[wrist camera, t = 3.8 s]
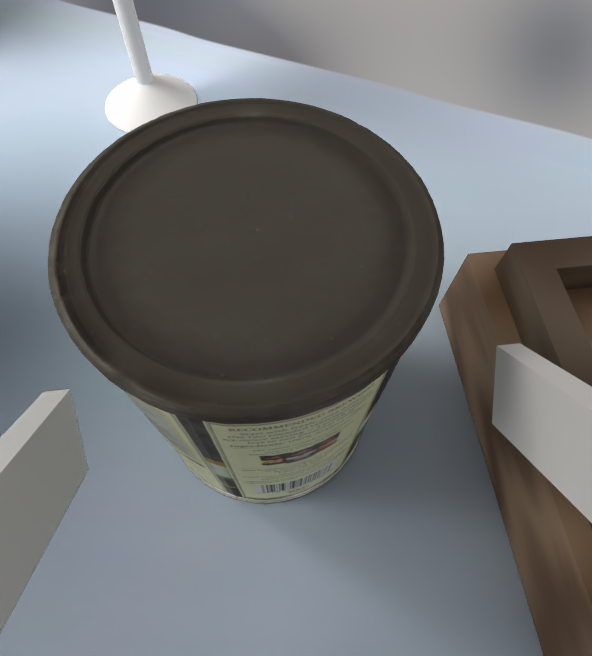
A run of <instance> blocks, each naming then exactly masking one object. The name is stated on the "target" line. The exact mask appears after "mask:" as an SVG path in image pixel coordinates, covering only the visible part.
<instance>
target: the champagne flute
mask: <svg viewBox="0 0 592 656" xmlns="http://www.w3.org/2000/svg"><path fill="white" fill-rule="evenodd" d="M113 4H114V7H115V10H116V14H117V17H118V21H119V24H120V28H121V31H122V34H123V38H124V41H125V44H126V48H127V51H128V55H129V58H130V61H131V65H132V68H133V71H134V75H135V77H133V78H130V79H128V80H126V81H124V82H122V83H120V84H119V85H118V86H116V87H115V88H114V89H113V90H112V91H111V93H110V94H109V95H108V97H107V99H106V102H105V113H106V116H107V118H108V119H109V121H110V122H111V123H112V124H113V125H114V126H116V127H117V128H118V129H120V130H123V131H125V132H128V133H129V132H130V131H132V130H134V129H135V128H137V127H139V126H141V125H143V124H145V123H147V122H149V121H151V120H154V119H156V118H158V117H160V116H162V115H164V114H167V113H170V112H173V111H176V110H179V109H182V108H185V107H189V106H193V105H197V96H196V93H195V91H194V89H193V88H192V87H191V86H190V85H189V84H188V83H187V82H185V81H184V80H182V79H180V78H178V77H175V76H171V75H167V74H152V72H151V68H150V64H149V60H148V56H147V53H146V49H145V45H144V41H143V37H142V33H141V30H140V26H139V22H138V18H137V14H136V11H135V7H134V3H133V0H113Z"/></svg>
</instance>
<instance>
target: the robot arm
mask: <svg viewBox="0 0 592 656" xmlns="http://www.w3.org/2000/svg"><path fill="white" fill-rule="evenodd" d="M492 424H493V425H494V426H495V427H496V428H497V429H498V430H499V431H500V432H501V433H502V434H503V435H504V436H505V437H506V438H507V439H508V440H509V441H510V442H511V443H512V444H513V445H514V446H515V447H516V448H517V449H518V450H519V451H520V452H521V453H522V454H523V455H524V456H525V457H526V458H527V459H528V460H529V461H530V462H531V463H532V464H533V465H534V466H535V467H536V468H537V469H538V470H539V471H540V472H541V473H542V474H543V475H544V476H545V477H546V478H547V479H548V480H549V481H550V482H551V483H552V484H553V485H554V486H555V487H556V488H557V489H558V490H559V491H560V492H561V493H562V494H563V495H564V496H565V497H566V498H567V499H568V500H569V501H570V502H571V503H572V504H573V505H574V506H575V507H576V508H577V509H578V510H579V511H580V512H581V513H582V514H583V515H584V516H585V517H586V518H587V519H588V520H589V521H590V522H591V523H592V387H591V386H590V385H588V384H586V383H585V382H583V381H581V380H580V379H578V378H576V377H575V376H573V375H571V374H570V373H568V372H566V371H565V370H563V369H562V368H560V367H558V366H557V365H555V364H553V363H552V362H550V361H548V360H547V359H545V358H543V357H542V356H540V355H538V354H537V353H535V352H533V351H532V350H530V349H529V348H527V347H525V346H524V345H522V344H520V343H517V344H507V345H497V347H496V363H495V380H494V397H493V413H492ZM87 471H88V465H87V460H86V456H85V452H84V447H83V443H82V439H81V434H80V430H79V426H78V421H77V417H76V413H75V408H74V404H73V400H72V395H71V391H70V389H65V390H56V391H46V392H43V393H42V394H41V395H40V396H39V397H38V398H37V399H36V400H35V401H34V402H33V403H32V404H31V405H30V407H29V408H28V409H27V410H26V411H25V412H24V413H23V414H22V415H21V416H20V417H19V418H18V419H17V420H16V421H15V422H14V423H13V425H12V426H11V427H10V428H9V429H8V430H7V431H6V432H5V433H4V434H3V435H2V436H1V437H0V633H1V631H2V629H3V627H4V625H5V624H6V622H7V620H8V618H9V616H10V614H11V612H12V611H13V609H14V607H15V605H16V603H17V601H18V599H19V598H20V596H21V594H22V592H23V590H24V588H25V586H26V585H27V583H28V581H29V579H30V577H31V575H32V573H33V572H34V570H35V568H36V566H37V564H38V562H39V560H40V559H41V557H42V555H43V553H44V551H45V549H46V547H47V546H48V544H49V542H50V540H51V538H52V536H53V534H54V533H55V531H56V529H57V527H58V525H59V523H60V521H61V520H62V518H63V516H64V514H65V512H66V510H67V508H68V507H69V505H70V503H71V501H72V499H73V497H74V495H75V494H76V492H77V490H78V488H79V486H80V484H81V482H82V481H83V479H84V477H85V475H86V473H87Z"/></svg>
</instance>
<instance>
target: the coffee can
mask: <svg viewBox="0 0 592 656" xmlns="http://www.w3.org/2000/svg"><path fill="white" fill-rule="evenodd" d="M443 266H444V243H443V236H442V230H441V225H440V221H439V218H438V215H437V211H436V208H435V206H434V203H433V200H432V198H431V196H430V194H429V192H428V190H427V188H426V186H425V184H424V183H423V181H422V179H421V178H420V177H419V175H418V174H417V173H416V171H415V170H414V169H413V167H412V166H411V165H410V164H409V163H408V162H407V161H406V160H405V159H404V157H403V156H402V155H401V154H400V153H399V152H398V151H396V150H395V149H394V148H393V147H392V146H391V145H390V144H388V143H387V142H386V141H384V140H383V139H382V138H380V137H379V136H377V135H376V134H374V133H373V132H372V131H370V130H369V129H367V128H365V127H363V126H361V125H359V124H357V123H356V122H354V121H352V120H350V119H348V118H346V117H344V116H341V115H339V114H336V113H333V112H331V111H328V110H325V109H322V108H319V107H315V106H311V105H307V104H302V103H297V102H291V101H284V100H275V99H264V98H247V99H230V100H220V101H213V102H206V103H201V104H197V105H193V106H189V107H185V108H182V109H179V110H176V111H173V112H170V113H167V114H164V115H162V116H160V117H158V118H156V119H154V120H151V121H149V122H147V123H145V124H143V125H141V126H139V127H137V128H135V129H134V130H132V131H130V132H129V133H127V134H126V135H124V136H122V137H121V138H119V139H118V140H116V141H115V142H114V143H113V144H112V145H110V146H109V147H108V148H106V149H105V150H104V151H103V152H102V153H101V154H100V155H98V156H97V157H96V158H95V159H94V160H93V161H92V162H91V163H90V164H89V165H88V166H87V168H86V169H85V170H84V171H83V172H82V173H81V175H80V176H79V177H78V179H77V180H76V181H75V183H74V184H73V186H72V187H71V189H70V190H69V192H68V193H67V195H66V197H65V199H64V201H63V203H62V205H61V208H60V210H59V212H58V214H57V217H56V220H55V223H54V226H53V229H52V233H51V238H50V244H49V256H48V275H49V283H50V289H51V294H52V297H53V300H54V304H55V307H56V309H57V312H58V315H59V317H60V319H61V322H62V323H63V325H64V327H65V328H66V330H67V332H68V334H69V335H70V337H71V339H72V340H73V342H74V343H75V344H76V346H77V347H78V349H79V350H80V351H81V353H82V354H83V355H84V356H85V357H86V358H87V359H88V360H89V361H90V362H91V363H92V364H93V365H94V366H95V367H96V368H97V369H98V370H99V371H100V372H101V373H102V374H103V375H104V376H105V377H106V378H107V379H109V380H110V381H111V382H113V383H114V384H115V385H117V386H118V387H120V388H121V389H122V390H124V391H125V392H126V394H127V395H128V396H129V397H130V398H131V400H132V401H133V402H134V403H135V404H136V405H137V406H138V407H139V408H140V410H141V411H142V412H143V413H144V414H145V415H146V416H147V418H148V419H149V420H150V421H151V422H152V423H153V424H154V426H155V427H156V428H157V429H158V430H159V432H160V433H161V434H162V435H163V436H164V437H165V438H166V439H167V441H168V442H169V443H170V444H171V445H172V446H173V447H174V448H175V450H176V451H177V452H178V453H179V454H180V456H181V458H182V459H183V461H184V462H185V463H186V465H187V466H188V468H189V469H190V470H191V472H192V473H193V474H194V475H196V476H197V477H198V478H199V479H200V480H202V481H203V482H204V483H205V484H206V485H208V486H209V487H211V488H212V489H214V490H216V491H218V492H219V493H221V494H224V495H226V496H229V497H231V498H234V499H238V500H242V501H246V502H253V503H264V504H266V503H274V502H281V501H287V500H290V499H294V498H298V497H300V496H303V495H305V494H307V493H310V492H311V491H313V490H315V489H317V488H319V487H320V486H322V485H323V484H325V483H326V482H327V481H329V480H330V479H331V478H332V477H334V475H335V474H337V473H338V472H339V471H340V470H341V469H342V468H343V466H344V465H345V464H346V462H347V461H348V459H349V458H350V457H351V455H352V453H353V452H354V450H355V448H356V446H357V443H358V441H359V438H360V436H361V433H362V431H363V429H364V427H365V425H366V423H367V421H368V419H369V417H370V415H371V413H372V411H373V409H374V407H375V405H376V403H377V401H378V399H379V398H380V395H381V393H382V392H383V390H384V388H385V386H386V384H387V382H388V380H389V378H390V377H391V375H392V373H393V371H394V368H395V366H396V365H397V363H398V361H399V359H400V357H401V356H402V355H403V354H404V352H405V351H406V350H407V349H408V347H409V346H410V345H411V344H412V342H413V341H414V339H415V338H416V336H417V335H418V333H419V331H420V330H421V328H422V327H423V325H424V323H425V321H426V319H427V318H428V316H429V314H430V312H431V309H432V307H433V305H434V302H435V300H436V298H437V295H438V292H439V288H440V283H441V279H442V273H443Z"/></svg>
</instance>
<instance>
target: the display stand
mask: <svg viewBox="0 0 592 656" xmlns="http://www.w3.org/2000/svg"><path fill="white" fill-rule="evenodd" d="M439 307H440V310H441V314H442V317H443V320H444V324H445V327H446V330H447V334H448V337H449V340H450V344H451V347H452V351H453V354H454V357H455V361H456V364H457V367H458V371H459V374H460V377H461V381H462V384H463V387H464V391H465V394H466V397H467V401H468V404H469V407H470V411H471V414H472V417H473V421H474V424H475V427H476V431H477V434H478V437H479V441H480V444H481V447H482V451H483V454H484V457H485V461H486V464H487V467H488V471H489V474H490V477H491V481H492V484H493V487H494V491H495V494H496V497H497V501H498V504H499V507H500V511H501V514H502V517H503V521H504V524H505V527H506V531H507V534H508V537H509V541H510V544H511V547H512V551H513V554H514V557H515V561H516V564H517V567H518V571H519V574H520V577H521V581H522V584H523V587H524V591H525V594H526V597H527V601H528V604H529V607H530V611H531V614H532V617H533V621H534V624H535V627H536V631H537V634H538V637H539V641H540V644H541V647H542V651H543V654H544V656H592V523H591V522H590V521H589V520H588V519H587V518H586V517H585V516H584V515H583V514H582V513H581V512H580V511H579V510H578V509H577V508H576V507H575V506H574V505H573V504H572V503H571V502H570V501H569V500H568V499H567V498H566V497H565V496H564V495H563V494H562V493H561V492H560V491H559V490H558V489H557V488H556V487H555V486H554V485H553V484H552V483H551V482H550V481H549V480H548V479H547V478H546V477H545V476H544V475H543V474H542V473H541V472H540V471H539V470H538V469H537V468H536V467H535V466H534V465H533V464H532V463H531V462H530V461H529V460H528V459H527V458H526V457H525V456H524V455H523V454H522V453H521V452H520V451H519V450H518V449H517V448H516V447H515V446H514V445H513V444H512V443H511V442H510V441H509V440H508V439H507V438H506V437H505V436H504V435H503V434H502V433H501V432H500V431H499V430H498V429H497V428H496V427H495V426H494V425H493V424H492V413H493V397H494V380H495V363H496V347H497V345H507V344H517V343H520V344H522V345H524V346H525V347H527V348H529V349H530V350H532V351H533V352H535V353H537V354H538V355H540V356H542V357H543V358H545V359H547V360H548V361H550V362H552V363H553V364H555V365H557V366H558V367H560V368H562V369H563V370H565V371H566V372H568V373H570V374H571V375H573V376H575V377H576V378H578V379H580V380H581V381H583V382H585V383H586V384H588V385H590V386H591V387H592V236H589V237H578V238H567V239H556V240H545V241H534V242H523V243H512V244H511V245H510V247H509V248H508V250H506V251H495V252H484V253H473V254H468V255H467V257H466V259H465V260H464V262H463V264H462V266H461V267H460V269H459V271H458V273H457V274H456V276H455V278H454V280H453V281H452V283H451V285H450V287H449V288H448V290H447V292H446V294H445V295H444V297H443V299H442V301H441V303H440V304H439Z"/></svg>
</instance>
